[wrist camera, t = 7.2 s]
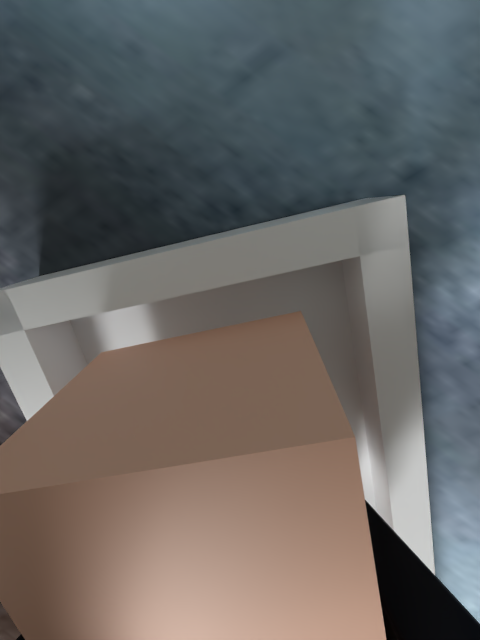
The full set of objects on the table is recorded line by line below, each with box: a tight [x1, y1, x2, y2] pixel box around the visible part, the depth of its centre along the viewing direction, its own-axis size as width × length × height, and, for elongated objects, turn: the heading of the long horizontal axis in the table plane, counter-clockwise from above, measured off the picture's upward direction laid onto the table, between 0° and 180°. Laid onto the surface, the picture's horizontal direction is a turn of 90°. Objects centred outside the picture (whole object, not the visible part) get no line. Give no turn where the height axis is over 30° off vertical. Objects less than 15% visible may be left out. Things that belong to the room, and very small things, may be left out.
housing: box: [0, 195, 435, 575], centre depth 11 cm, size 9×23×2 cm, turn 13°
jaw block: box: [0, 311, 386, 640], centre depth 6 cm, size 4×7×5 cm, turn 13°
